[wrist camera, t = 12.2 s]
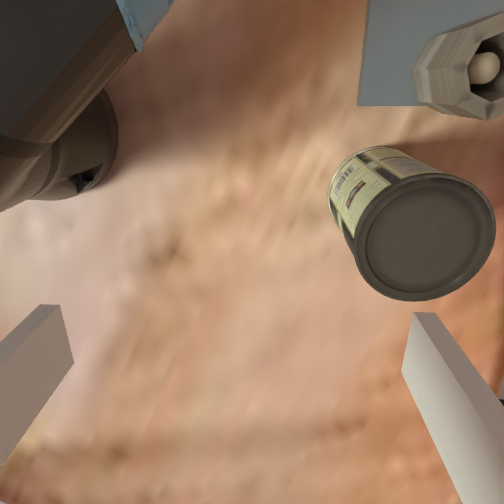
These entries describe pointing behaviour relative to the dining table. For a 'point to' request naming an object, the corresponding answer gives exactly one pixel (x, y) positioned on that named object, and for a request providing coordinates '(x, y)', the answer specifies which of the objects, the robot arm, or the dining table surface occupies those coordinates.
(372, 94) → the pin board
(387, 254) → the coffee can
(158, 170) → the dining table surface
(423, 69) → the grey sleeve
